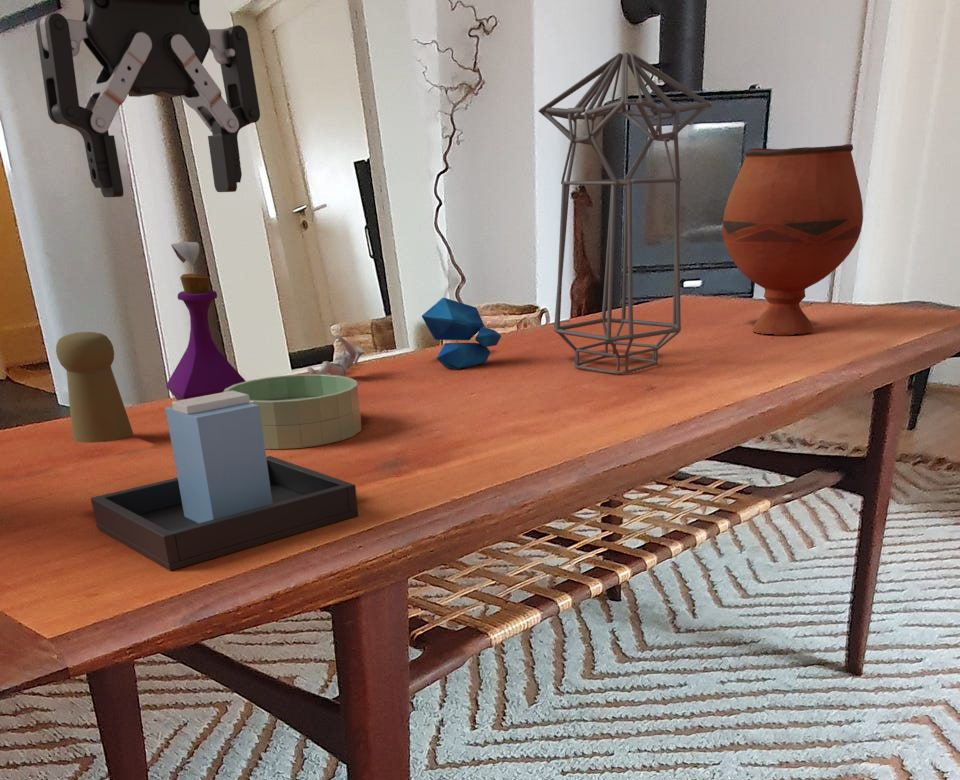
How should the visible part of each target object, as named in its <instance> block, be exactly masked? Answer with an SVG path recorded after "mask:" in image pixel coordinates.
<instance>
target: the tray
mask: <svg viewBox="0 0 960 780" xmlns="http://www.w3.org/2000/svg"><path fill="white" fill-rule="evenodd" d="M266 459H267V466H268V474H269V481H270V488H271V496H272V503H273V504H269V505H265V506H261V507H258V508H254V509H250V510H247V511H243V512H239V513H235V514H232V515H228V516H224V517H220V518H217V519H213V520H209V521H206V522H202V523H197V522H195V521H193V520H191V519H189V518H187V517H185V516H184V511H183V505H182V500H181V494H180V489H179V483H178V477H173V478H170V479H166V480H161V481H157V482H152V483H148V484H143V485H140V486H135V487H131V488H127V489H124V490H119V491H115V492H114V491H113V492H110V493H105V494H102V495H97V496H93V497H90V501H91V502H90V503H91V506H92V510H93V515H94V519H95V524H96V529H97V530H99V531H100V532H102V533H104V534H106V535H107V536H109V537H111V538H112V539H114V540H116V541H118V542H119V543H121V544H123V545H125V546H127V547H128V548H130V549H131V550H133V551H135V552H137V553H138V554H140V555H141V556H144V557H146V558H147V559H149V560H151V561H152V562H154V563H156V564H157V565H160V566H161V567H162V568H165V569H166V570H168V571H170V572H172V571H175V570H178V569H181V568H185V567H189V566H192V565H195V564H199V563H202V562H207V561H210V560H213V559H215V558H220V557H222V556H226V555H229V554H232V553H236V552H239V551H240V552H241V551H243V550H246V549H250V548H254V547H257V546H260V545H264V544H266V543H271V542H273V541H277V540H280V539H284V538H287V537H290V536H293V535H294V536H295V535H298V534H300V533H304V532H307V531H311V530H314V529H318V528H321V527H325V526H328V525H331V524H335V523H338V522H342V521H344V520H348V519H352V518H355V517H358V516H359V509H358V501H357V489H356V484H354V483H351V482H348V481H345V480H342V479H340V478H336V477H334V476H330V475H328V474H325V473H321V472H318V471H316V470H313V469H310V468H308V467H304V466H301V465H298V464H295V463H292V462H289V461H286V460H283V459H281V458H278V457H274V456H272V455H266Z"/></svg>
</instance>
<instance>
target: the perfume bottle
mask: <svg viewBox="0 0 960 780" xmlns="http://www.w3.org/2000/svg"><path fill="white" fill-rule="evenodd" d="M170 245H171V248H172V250H173V251H174V253H175V255H176V257H177V258H178V259H179V261H180V262H182V263H183V264H184V263H185V262H188V263H189V264H190V265H191V271H192V273H183V274H182V275H181V276H179V279H180V281H181V285H182V288H183V291H179V292H178V293H177V300H179V301H182V302H183V304H184V305H185V307H186V308H187V310H188V313H189V317H190V318H189V320H190V322H189V323H190V330H189V340H188V342H187V343H188V344H187V347H186V349H185V351H184V353H183V355H182V357H181V358H180V360H179V362H178V364H177V365H176V367H175V369H174V371H173V372H172V374H171V376H170V377H169V379H168V380H167V382H166V385H165V386H166V388H167V390H168V391H170V393H171V394H172V395H173V397H174V398H175V399H176V401H179V400H184V399H190V398H195V397H201V396H206V395H211V394H217V393H222V392H223V391H224V389H226V388H228V387H230V386H232V385H235V384H238V383H242V382H245V381H246V379H245V378H244V377H243V376H242V374H240V373H239V372H238V371H237V369H236V368H235V367H234V366H232V364H231V363H230V361H228V359H227V358H226V357H225V355H223V353H222V352H221V351H220V349H218V346H217V345H216V343H215V341H214V339H213V335H212V333H211V328H210V322H209V309H210V306H211V304H212V301H213V300H215V299H217V298H218V293H217V291H215V290H213V289H210V277H209V276H208V275H207V274H202V273H197V272H196V270H195V262H196V260H197V258H198V257H199V255H200V244H199V243H198V242H196V241H181V242H176V243H171V244H170Z"/></svg>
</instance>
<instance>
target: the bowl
mask: <svg viewBox="0 0 960 780" xmlns="http://www.w3.org/2000/svg"><path fill="white" fill-rule="evenodd" d="M228 391H237V392H240V393H244V394H248V395H249V399H250V402H249V403H252V404H256V405H259V407H260V415H261V422H262V429H263V437H264V444H265V450H291V449H292V450H293V449H305V448H311V447H319V446H320V447H321V446H325V445H329V444H333V443H338V442H341V441H344V440H347V439H350V438H352V437H355V436H356V435H358V433H360V432H361V431H362V416H361V405H360V394H359V382H358V381H357V380H356V379H354V378H352V377H348V376H339V375H327V374H309V373H305V374H304V373H300V374H285V375H275V376H267V377H261V378H260V377H259V378H255V379H249V380H245V382H242V383H238V384H235V385H232V386H230V387H228V388H226V389H224V391H223V392H228Z"/></svg>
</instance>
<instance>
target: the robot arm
mask: <svg viewBox="0 0 960 780" xmlns="http://www.w3.org/2000/svg"><path fill="white" fill-rule="evenodd" d="M82 4H83V15H82V20H79V19H72V18H66V17H65V16H64V15H63V14H61V13H59V12H54V13H49V14H47V15H44V16H42V17H40V18H38V19H37V20H36V23H35V32H36V38H37V46H38V52H39V60H40V65H41V66H40V67H41V73H42V74H41V75H42V80H43V89H44V94H45V101H46V102H45V103H46V109H47V113H48V118H49V119H50V120H51V121H52V123H54V124H55V125H56V124H57V125H63V126H66V127H68V128H71V129H73V130H76V131H77V132H78V133H79V134H80V135H81V137H82V139H83V143H84V147H85V154H86V159H87V160H86V161H87V163H88V169H89V176H90V180H91V183H92V185H93V186H94V187H95V189H100V192H101V194H102V196H103V198H122V197H124V186H123V180H122V174H121V168H120V161H119V157H118V151H117V144H116V139H115V135H114V134H113V135H112V134H111V135H110V132H109V128H110V127H111V125H112V123H113V120H114V118H115V117H116V114H117V112H118V110H119V108H120V107H121V106H122V105H123V103H124V102H125V101H126V99H127V97H134V98H136V97H137V98H141V97H145V96H152V95H154V96H157V97H159V98H176V97H181V99H182V100H183V102H184V103H185V104H186V105H187V106H188V107H189V108H191V109H192V110H194V111H195V112H196V114H197V115H198V116H199V118H200V119H201V121H202V122H203V123H204V125H205V126H206V127H207V128H208V130H209V131H210V132H211V134H212V135H207V140H208V148H209V155H210V162H211V170H212V179H213V184H214V188H215V191H216V192H217V193H234V192H236V191H237V189H238V184H239V183H241V180H242V176H243V172H242V167H241V165H242V164H241V157H240V149H239V141H238V134H239V131H240V130H241V129H242V128H244V127H246V126H248V125H250V124H254V123H257V122H259V121H260V118H261V111H260V103H259V98H258V92H257V85H256V79H255V73H254V67H253V60H252V55H251V48H250V41H249V36H248V35H249V34H248V32H247V30H246V29H245V27H244V26H242V25H239V24H236V25H234V26H229V27H225V28H217V29H216V28H209V29H208V28H207V26H206V24H205V22H204V20H203V17H202V13H201V0H82ZM82 41H83V43H84V45H85V46H86V47H87V49H88V50H89V51H90V52H91V54H92V55H93V56H94V58H95V59H96V60H97V62H98V63H99V64H100V67H99V70H98V72H97V74H96V76H95V78H94V80H93V82H92V84H91V86H90V88H89V90H88V97H87V99H86V101H85V103H84V105H83V106H80V103H79V102H80V101H79V94H78V85H77V80H76V71H75V70H76V69H75V63H74V57H76V56H77V55H79V53H80V48H81V47H80V45H81V42H82ZM209 50H210V51H211V53H212V54H213V58H214V60H215V61H216V63H218V64H219V65H220V70H221V77H222V81H223V87H224V93H225V98H226V99H224V98H223V96H222V90H221V88H220V87H219V86H218V84H217V83H216V81H214V78H212V76H211V75H210V73H209V72H208V71H207V69H206V68H205V67H204V65H203V64H204V61H205V59H206V57H207V54H208V53H209ZM225 100H226V101H225Z"/></svg>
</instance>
